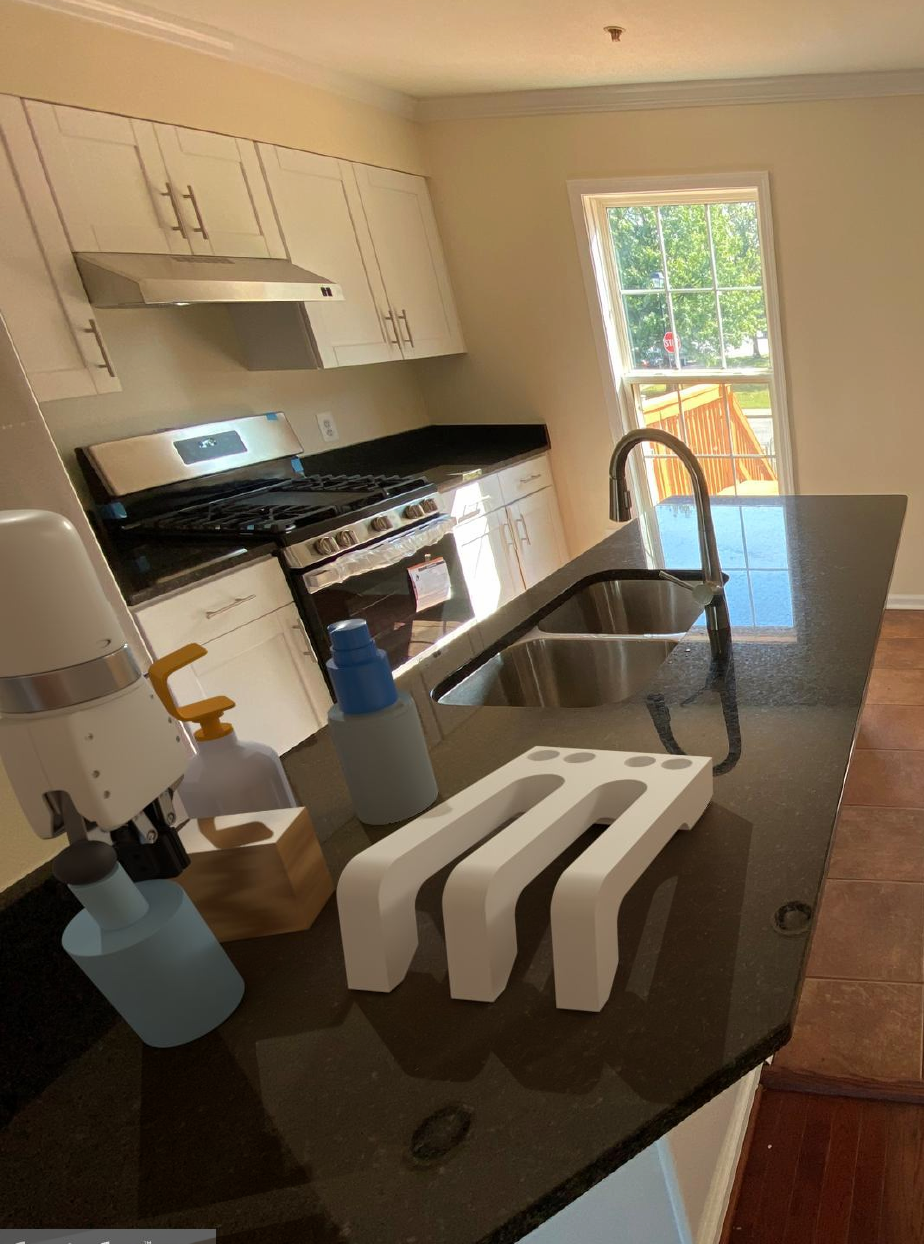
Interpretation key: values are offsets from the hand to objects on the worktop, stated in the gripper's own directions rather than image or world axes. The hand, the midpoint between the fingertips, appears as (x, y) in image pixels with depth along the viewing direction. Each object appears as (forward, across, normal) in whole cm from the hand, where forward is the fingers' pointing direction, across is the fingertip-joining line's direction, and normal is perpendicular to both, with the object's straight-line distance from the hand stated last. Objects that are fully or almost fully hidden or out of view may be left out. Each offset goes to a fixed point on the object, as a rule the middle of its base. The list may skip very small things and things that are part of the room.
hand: (163, 873), depth 60 cm
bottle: (+12, -1, -1) cm, 13 cm away
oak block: (+14, -10, -1) cm, 17 cm away
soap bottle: (+14, -24, -9) cm, 29 cm away
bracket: (+14, -9, +28) cm, 33 cm away
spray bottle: (+14, -28, +5) cm, 32 cm away
